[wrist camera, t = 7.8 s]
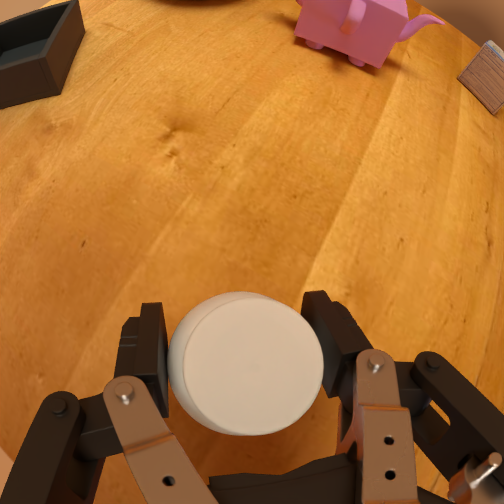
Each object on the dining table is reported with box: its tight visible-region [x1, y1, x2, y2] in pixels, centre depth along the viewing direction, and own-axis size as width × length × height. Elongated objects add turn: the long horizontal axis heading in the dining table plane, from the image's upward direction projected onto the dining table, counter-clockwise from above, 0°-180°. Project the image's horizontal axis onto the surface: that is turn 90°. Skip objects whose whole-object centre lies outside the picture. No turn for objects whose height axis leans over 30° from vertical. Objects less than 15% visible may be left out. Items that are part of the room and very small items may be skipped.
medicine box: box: [457, 40, 504, 115], centre depth 32 cm, size 8×4×9 cm, turn 44°
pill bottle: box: [167, 291, 324, 436], centre depth 13 cm, size 5×5×10 cm
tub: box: [0, 0, 85, 109], centre depth 23 cm, size 13×12×5 cm
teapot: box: [294, 0, 445, 69], centre depth 28 cm, size 15×13×11 cm
